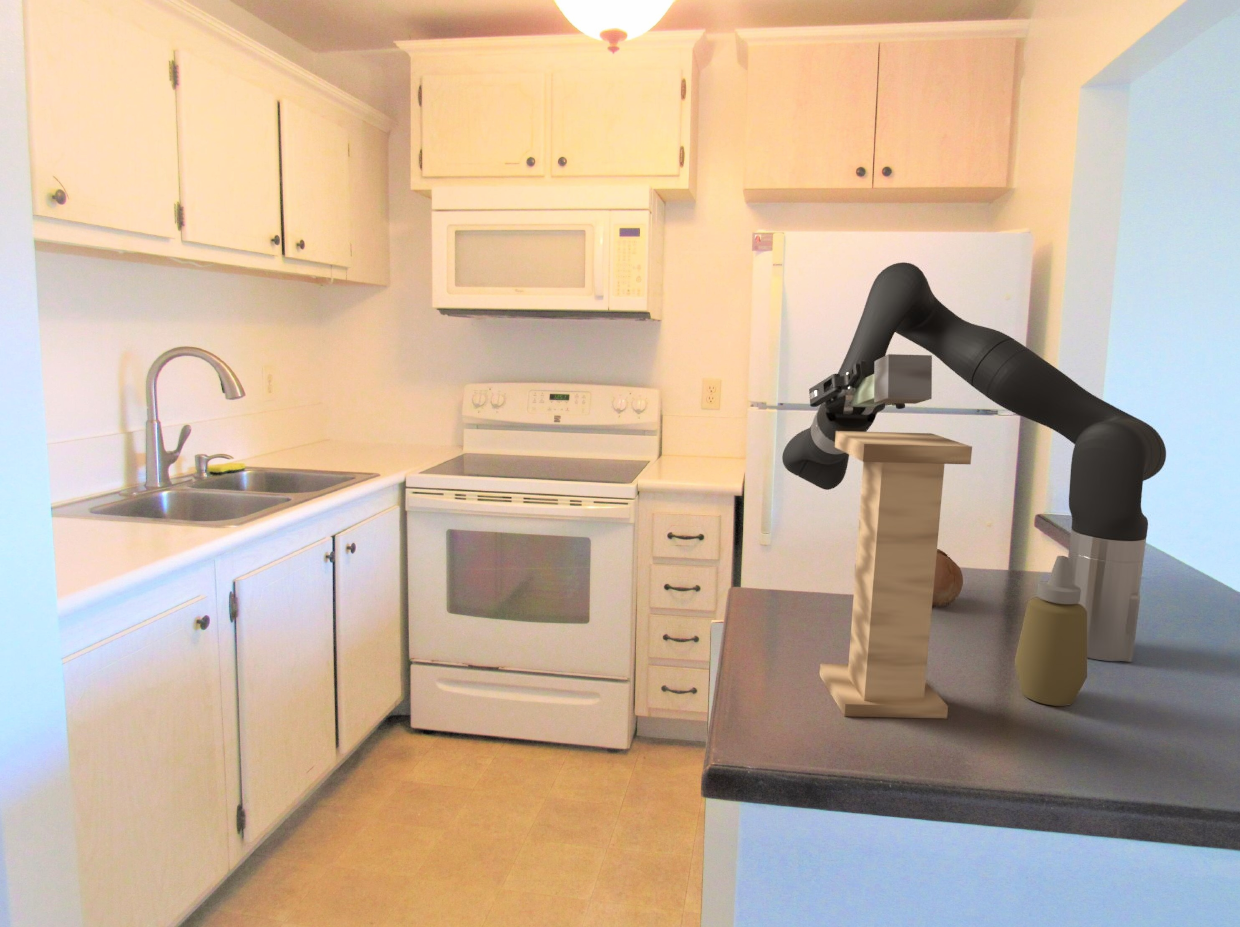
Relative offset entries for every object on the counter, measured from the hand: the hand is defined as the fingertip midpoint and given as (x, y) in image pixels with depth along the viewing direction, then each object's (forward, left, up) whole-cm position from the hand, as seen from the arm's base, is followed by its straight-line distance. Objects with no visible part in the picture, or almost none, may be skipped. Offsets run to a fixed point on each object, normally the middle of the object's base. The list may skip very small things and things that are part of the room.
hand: (877, 367), depth 108 cm
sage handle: (-2, +3, -5) cm, 6 cm away
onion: (-4, -33, -40) cm, 52 cm away
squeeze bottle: (-23, -2, -40) cm, 46 cm away
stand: (-5, +9, -40) cm, 41 cm away
